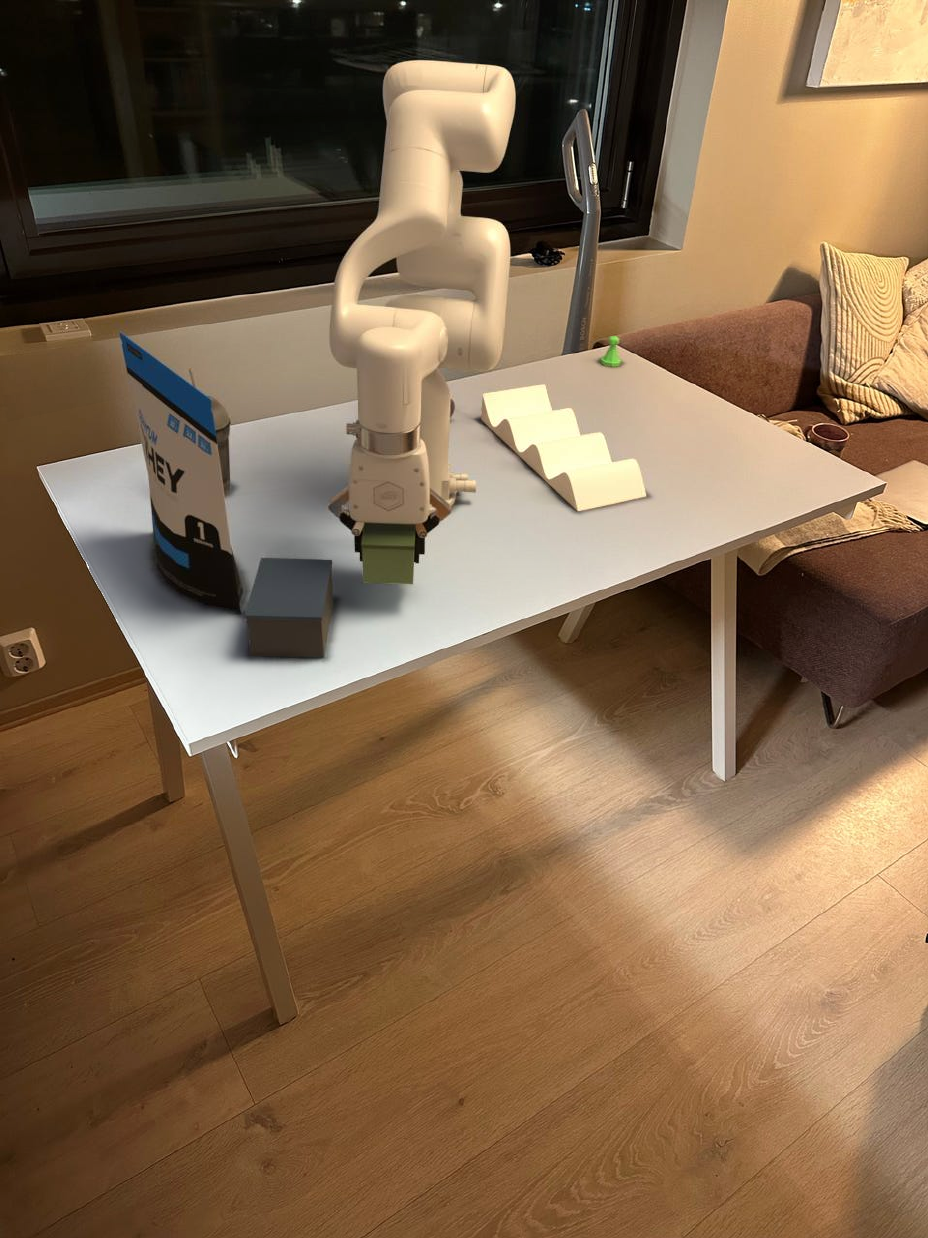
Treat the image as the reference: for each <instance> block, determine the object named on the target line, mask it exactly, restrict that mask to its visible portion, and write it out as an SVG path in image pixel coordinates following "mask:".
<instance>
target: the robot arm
mask: <svg viewBox="0 0 928 1238" xmlns="http://www.w3.org/2000/svg"><path fill="white" fill-rule="evenodd" d="M382 99H383V108H384V114H385V120H386V130H385V140H384V149H383V150H384V151H383V160H382V170H381V180H380V190H379V201H378V211H377V215H376V218H375V219H374V221H373V222H372V223H371V224H370V225H369V226H368V227H367V228H366V229H365V230H364V231H363V232H362V233H361V234H360V235H359V236H358V237H357V238H356V239H355V240H354V242H352V244H351V246H350V247H349V249H348V250H347V252H346V253H345V254H344V256H343V257H342V260H341V261H340V264H339V266H338V269H337V272H336V275H335V278H334V281H333V282H334V283H333V289H332V290H333V291H332V298H331V309H330V318H329V328H328V329H329V331H328V332H329V333H328V335H329V336H328V337H329V339H328V340H329V341H328V342H329V348H330V352H331V354H332V357H333V359H334V360H335V361H336V362H337V363H338V364H340V365H341V366H343V367H346V368H348V369H356V383H357V385H356V387H357V388H356V389H357V390H356V391H357V418H358V419H356V420H355V422H354V421H353V422H352V423H351V422H349V423H348V422H347V423H346V425H345V426H346V427H345V430H346V431H345V432H346V433H345V434H346V435H351V436H353V437H355V440H354V442H353V444H352V448H351V452H350V459H349V469H348V470H349V472H348V485H347V486H346V487H344V489H342V490H341V491H340V492H339V493H338V494H336V495H335V496H334V497H332V498H331V499H330V500H329V501H328V504H327V510H328V511H329V512H330V513H332V514H333V516H335V517H336V518H338V519H339V521H340V523H341V524H343V526H345V527H346V528H347V529H348V530H350V533H351V535H353V541H354V542H353V543H354V546H353V547H354V553H359V562H361V563H362V548H361V542H362V535H363V528H364V526H365V524H366V523H384V524H413V526H414V528H415V548H414V564H420V555H426V554H425V553H426V552H425V551H426V538H427V537H428V534H430V532H432V531H433V530H435V528H437V527H438V526H439V525H440V523H441V522H442V521H444V520H445V519H446V518H447V517H448V516H450V515H451V514H452V506H453V505H454V504H455V503H456V501H457V492H458V493H459V492H464V493H473V494H474V493H476V491H477V480H475V479H469V474H468V473H454V472H453V471H451V464H450V463H449V449H450V425H451V418H450V403H451V399H452V398H451V392H450V388H449V385H448V382H447V381H446V379H445V377H444V376H443V374H442V372H441V371H440V370H439V369H448V370H449V369H450V370H459V371H471V372H472V371H473V372H487V371H490V370H492V369H494V368H495V367H496V366H498V363H499V361H500V359H501V357H502V351H503V346H504V339H505V326H506V315H507V303H508V291H509V281H510V268H511V241H510V236H509V232H508V230H507V229H506V226H505V225H503V223H502V222H500V221H498V220H496V219H493V218H488V217H479V216H477V217H476V216H467V215H465V216H464V215H462V213H461V209H462V208H461V207H462V197H463V187H464V181H463V177H462V174H461V172H462V171H463V172H471V173H472V172H474V173H488V174H489V173H493V172H494V171H496V170H497V169H498V168H499V167H500V165H502V162H503V159H504V157H505V154H506V151H507V147H508V143H509V137H510V133H511V128H512V125H513V122H514V121H513V120H514V117H515V111H516V87H515V82H514V79H513V76H512V74H511V72H510V71H509V70H507V69H506V68H505V67H502V66H498V65H493V64H480V63H466V62H454V61H453V62H452V61H444V60H443V61H441V60H425V59H423V60H422V59H421V60H420V59H419V60H407V61H402V62H397V63H396V64H394V65H392V66H391V67H390V68H389V69H387V71H386V73H385V75H384V79H383V83H382ZM393 259H396V261H395V263H396V269H397V273H398V275H399V277H400V278H401V279H402V280H403V281H404V282H405V283H408V284H411V285H414V286H418V287H425V288H433V289H444V290H445V289H446V290H458V291H468V292H471V293H472V294H473V295H474V296H475V297H474V298H475V299H468V298H458V297H457V298H456V297H446V296H439V295H437V296H436V295H426V294H425V295H424V294H403V295H398V296H395V297H393V298H391V299H389V301H387V302H386V303H385V305H384V306H382V305H371V304H370V305H369V304H358V301H359V297H360V292H361V289H362V286H363V284H364V282H366V279H367V278H368V277H369V276H370V275H371V274H372V273H373V272H374V271H375V270H376V269H378V268H379V267H380V266H382V265H384V264H386V263H387V262H389V261H391V260H393ZM446 382H447V383H446ZM346 504H348V509H347V508H345V505H346Z"/></svg>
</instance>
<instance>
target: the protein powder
mask: <svg viewBox="0 0 928 1238" xmlns="http://www.w3.org/2000/svg"><path fill="white" fill-rule="evenodd" d="M118 334H119V339H120V341H121V348H122V355H123V358H124V363H125V364H124V365H125V368H126V373H127V379H128V384H129V388H130V393H131V394H130V395H131V399H132V404H133V408H134V413H135V418H136V423H137V427H138V433H139V437H140V443H141V447H142V451H143V457H144V462H145V466H146V471H147V478H148V487H149V500H150V511H151V513H150V514H151V523H152V525H151V526H152V535H153V536H152V537H153V547H154V556H155V564H156V570H157V572H158V573H159V575H160V576H161V578H162V580H163V581H164V583H165V584H166V585H167V586H169V587H170V588H171V589H173V590H174V591H176V592H177V593H178V594H179V595H181V596H183V597H186V598H188V599H191V600H193V601H195V602H198V603H200V604H203V605H205V606H207V607H212V608H213V607H214V608H219V609H225V610H226V609H227V610H231V611H237V612H238V613H239V614H240V615H242V610H241V604H240V603H241V600H242V597H243V593H244V590H243V585H242V582H241V578H240V574H239V569H238V566H237V562H236V558H235V554H234V551H233V548H232V543H231V535H230V528H229V527H230V526H229V520H228V513H227V504H226V498H225V495H224V489H223V481H222V474H221V467H220V460H219V453H218V446H217V439H216V432H215V424H214V417H213V413H212V410H211V407H212V403H211V399H210V398H209V397H207V396H208V395H206V394H205V393H203V392H202V391H201V390H200V389H198V387H197V388H195V387H194V386H193V384H192V383H190V382H189V381H187V380H186V379H184V378H183V377H182V376H180V375H179V374H178V373H177V372H175V371H173V370H172V368H170V367H168V366H167V365H166V364H165V363H163V362H162V361H161V360H159V359H158V358H157V357H155V356H153V354H151V353H149V352H148V351H147V350H146V349H144V348H143V347H141V346H140V345H139V344H137V343H136V342H135V341H133V340H132V339H131V338H129V337H128V336H126V335H125V334H124V333H123V332H121V331H119V332H118Z"/></svg>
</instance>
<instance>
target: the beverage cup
mask: <svg viewBox="0 0 928 1238" xmlns="http://www.w3.org/2000/svg"><path fill="white" fill-rule="evenodd" d="M188 372H189V375H190V376H189V377H190V379H191V385H193V386H194V387H195V388H197V389H198V385H197V382H196V377H195V374H194V370H193V367H188ZM206 396H207V397H209V398H210V399H211V403H212V407H211V410H212V413H213V417H214V424H215V432H216V439H217V446H218V453H219V460H220V467H221V474H222V481H223V489H224V496H225V495H227V494H228V493H230V491H231V463H230V461H231V460H230V459H231V458H230V433H231V419H230V417H229V413H228V410H227V408H226V407H225V405H224V404H223V403H222V402H221V401H220V400H218V399H217V398H215V397H213V396H211V395H206Z"/></svg>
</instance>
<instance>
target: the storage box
mask: <svg viewBox="0 0 928 1238" xmlns="http://www.w3.org/2000/svg"><path fill="white" fill-rule="evenodd" d="M255 574H256V575H255V578H254V581H253V585H252V588H251V591H250V594H249V598H248V602H247V605H246V609H245V612H244V616H243V617H244V620H245V622H246V630H247V636H248V637H247V638H248V644H249V650H250V651H249V652H250V656H251V657H282V658H319V659H321V658H325V653H326V648H327V647H326V646H327V641H328V637H329V630H330V624H331V617H332V611H333V605H334V599H335V598H334V581H333V559H321V558H320V559H319V558H289V557H288V558H285V557H284V558H283V557H279V558H278V557H261V558H260V561H259V564H258V568H257V572H256V573H255Z"/></svg>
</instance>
